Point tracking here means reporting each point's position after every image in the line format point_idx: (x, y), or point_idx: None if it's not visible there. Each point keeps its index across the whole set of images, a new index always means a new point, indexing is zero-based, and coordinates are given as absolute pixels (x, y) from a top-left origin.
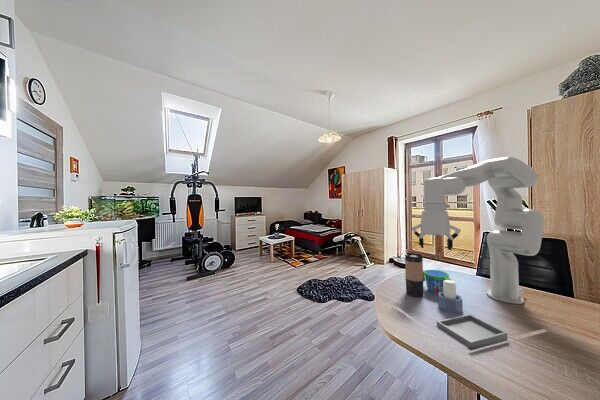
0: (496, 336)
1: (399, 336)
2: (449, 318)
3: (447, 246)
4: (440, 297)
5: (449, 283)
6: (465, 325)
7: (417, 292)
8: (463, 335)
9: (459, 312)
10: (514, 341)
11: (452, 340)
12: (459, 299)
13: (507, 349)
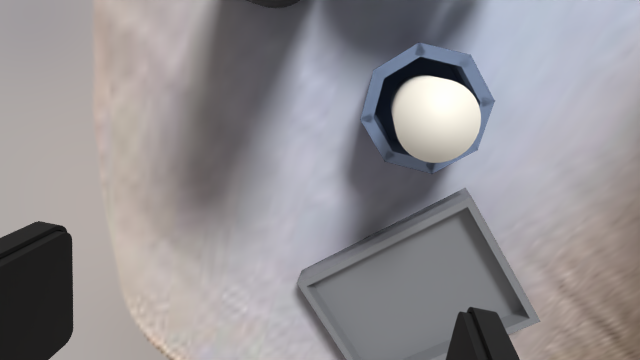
0: None
1: (165, 339)
2: (357, 252)
3: (463, 338)
4: (366, 128)
5: (423, 153)
6: (414, 257)
7: (272, 3)
8: (373, 324)
9: None
10: (553, 305)
11: None
12: None
13: None
